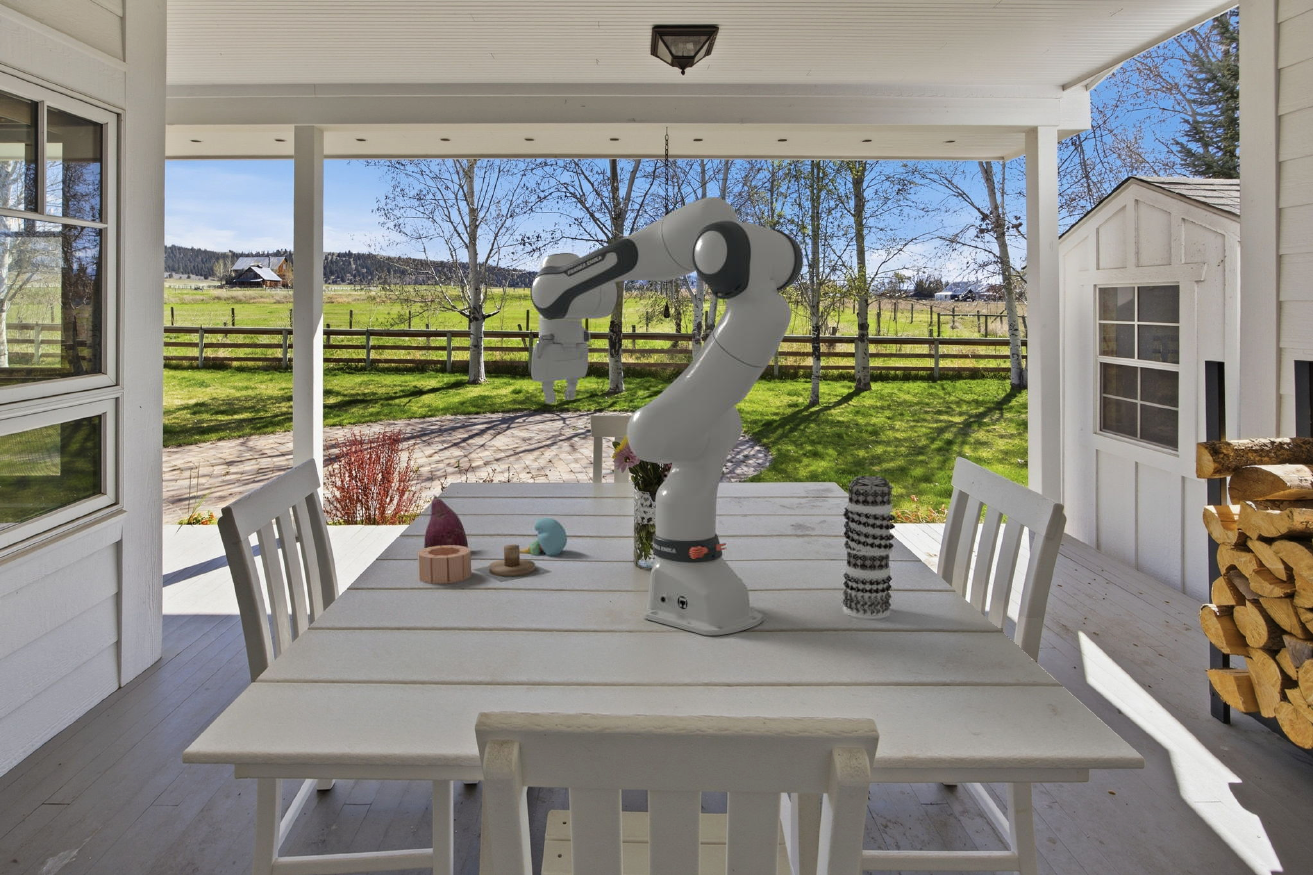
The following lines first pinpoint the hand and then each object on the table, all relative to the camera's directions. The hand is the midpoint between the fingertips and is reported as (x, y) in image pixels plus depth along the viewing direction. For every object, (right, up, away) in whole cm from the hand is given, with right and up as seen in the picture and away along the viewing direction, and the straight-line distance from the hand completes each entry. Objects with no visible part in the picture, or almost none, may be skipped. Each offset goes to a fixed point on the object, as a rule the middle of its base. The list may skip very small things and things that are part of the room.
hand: (560, 401), depth 185 cm
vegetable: (-29, -35, +21) cm, 50 cm away
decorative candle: (+59, -40, -21) cm, 74 cm away
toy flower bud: (-7, -35, +19) cm, 40 cm away
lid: (-11, -36, +4) cm, 37 cm away
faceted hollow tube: (-24, -37, 0) cm, 44 cm away
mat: (-11, -37, +4) cm, 38 cm away
